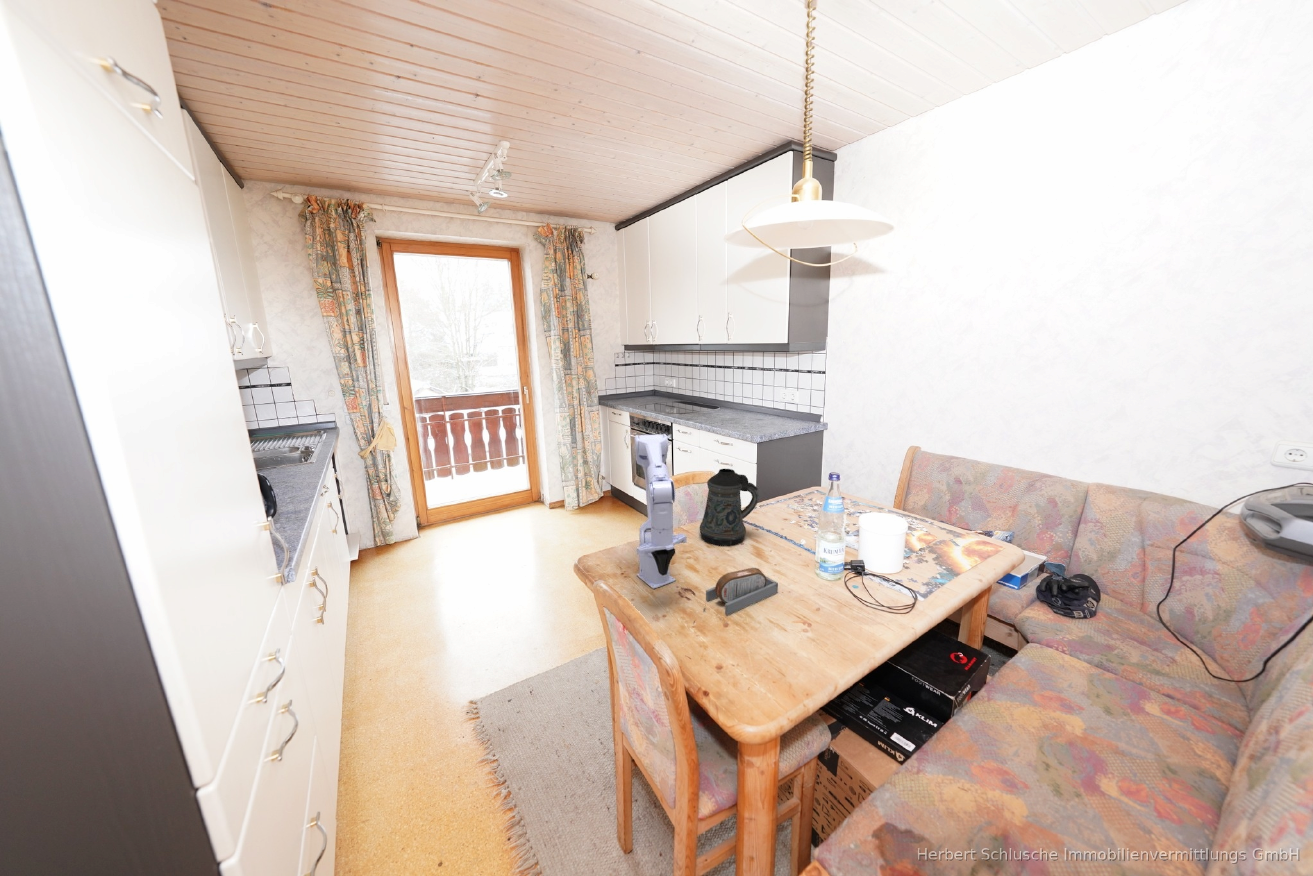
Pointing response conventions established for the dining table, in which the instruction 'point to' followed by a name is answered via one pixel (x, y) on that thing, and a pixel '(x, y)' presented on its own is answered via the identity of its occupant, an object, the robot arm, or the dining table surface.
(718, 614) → the dining table surface
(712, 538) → the beer stein
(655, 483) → the robot arm
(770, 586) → the pocket
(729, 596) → the tin
